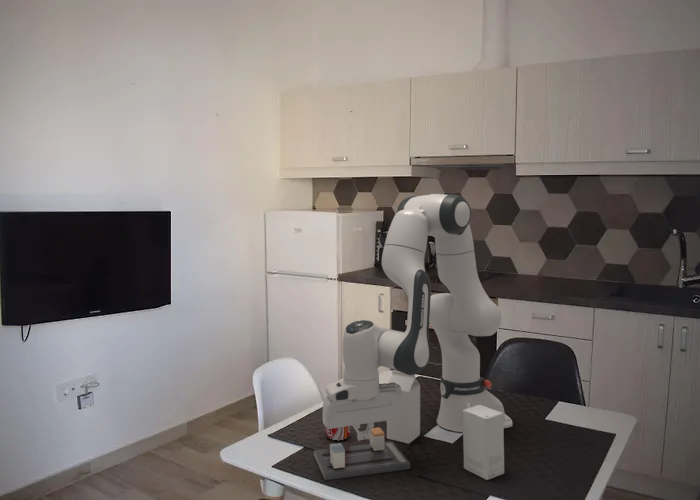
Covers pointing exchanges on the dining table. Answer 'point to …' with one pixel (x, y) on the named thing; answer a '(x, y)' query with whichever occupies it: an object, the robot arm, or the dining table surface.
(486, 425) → the skincare box
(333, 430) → the soda can
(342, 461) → the fader
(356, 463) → the console
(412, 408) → the milk carton
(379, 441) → the fader
